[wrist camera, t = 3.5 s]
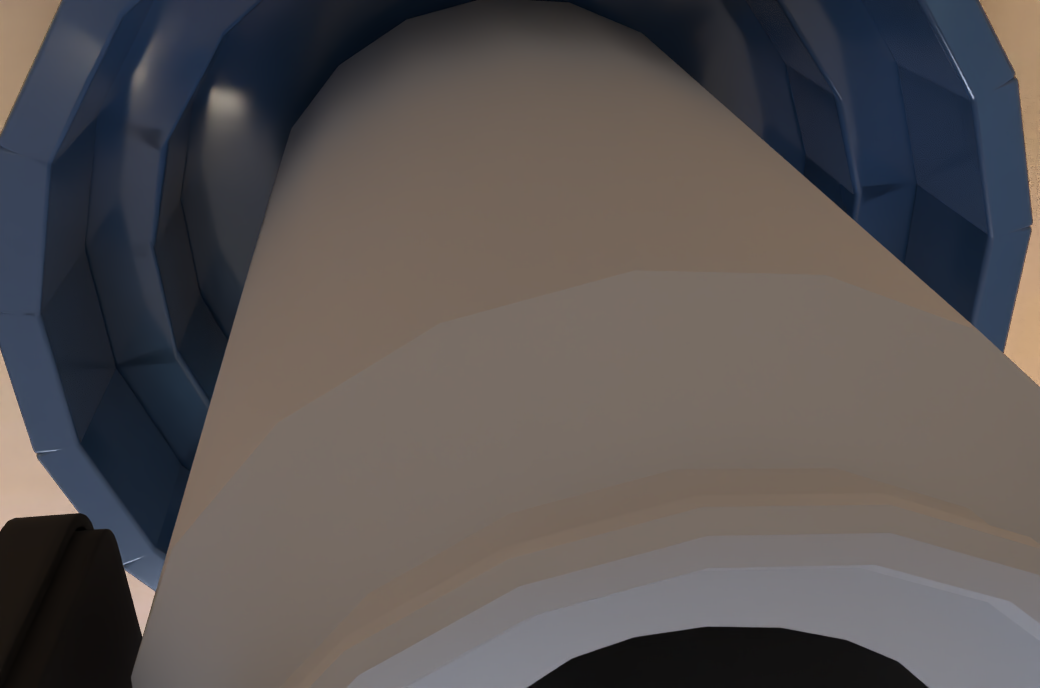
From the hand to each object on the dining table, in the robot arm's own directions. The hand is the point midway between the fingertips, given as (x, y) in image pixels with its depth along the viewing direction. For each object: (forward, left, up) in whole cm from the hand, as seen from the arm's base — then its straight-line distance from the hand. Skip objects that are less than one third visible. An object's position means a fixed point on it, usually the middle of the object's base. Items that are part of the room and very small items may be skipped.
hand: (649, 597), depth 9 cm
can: (0, 0, -9) cm, 9 cm away
